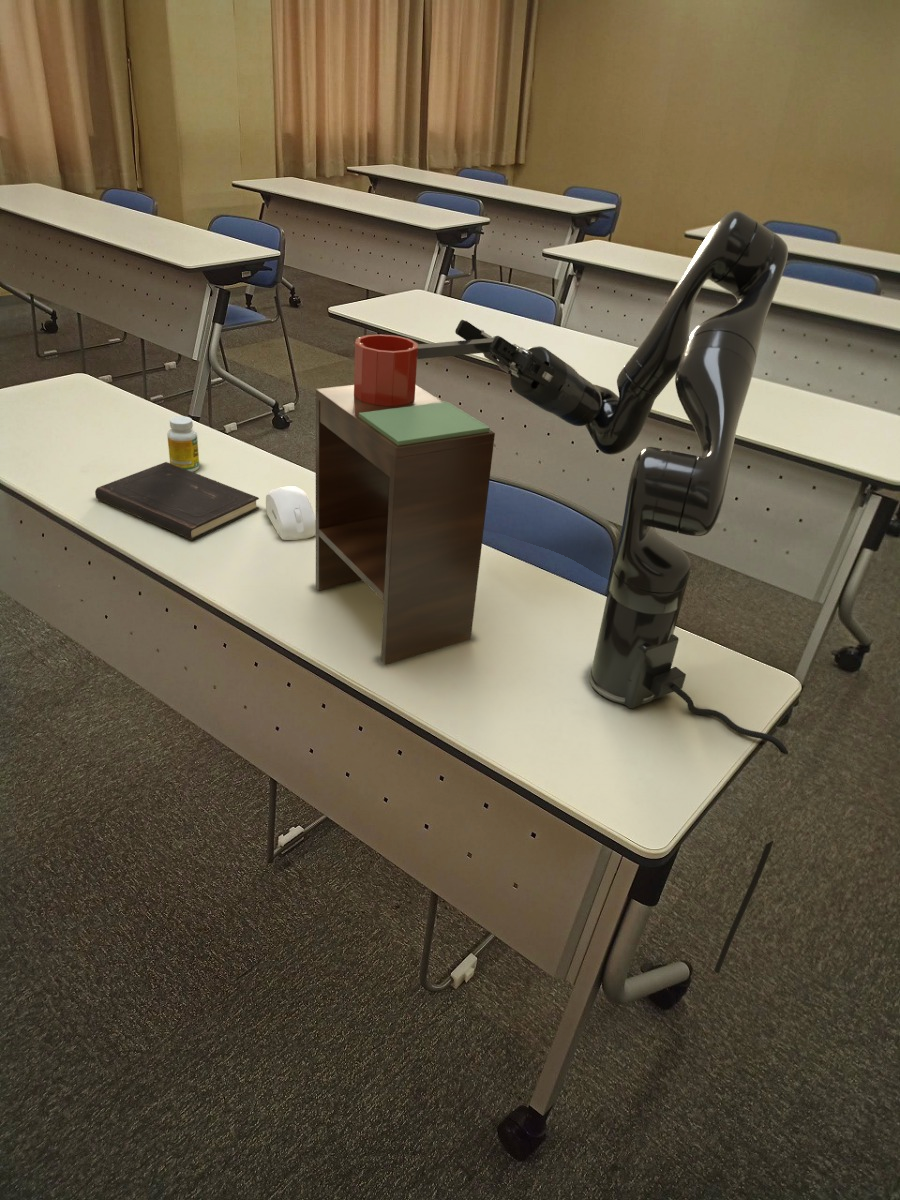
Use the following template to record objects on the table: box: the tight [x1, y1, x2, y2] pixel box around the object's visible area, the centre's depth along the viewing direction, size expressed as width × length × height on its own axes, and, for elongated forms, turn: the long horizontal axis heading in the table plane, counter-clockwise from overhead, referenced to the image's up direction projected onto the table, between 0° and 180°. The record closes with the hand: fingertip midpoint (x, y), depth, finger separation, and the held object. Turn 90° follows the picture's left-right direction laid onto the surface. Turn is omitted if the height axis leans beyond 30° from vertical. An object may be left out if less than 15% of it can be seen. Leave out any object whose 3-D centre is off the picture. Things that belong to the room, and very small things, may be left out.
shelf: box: [315, 384, 496, 665], centre depth 117 cm, size 22×14×31 cm, turn 32°
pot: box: [353, 333, 494, 406], centre depth 114 cm, size 8×22×7 cm, turn 122°
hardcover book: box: [94, 461, 260, 541], centre depth 148 cm, size 16×23×2 cm
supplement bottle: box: [166, 415, 200, 472], centre depth 159 cm, size 5×5×10 cm
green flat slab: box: [359, 401, 491, 446], centre depth 105 cm, size 10×13×1 cm
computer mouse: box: [265, 485, 316, 541], centre depth 144 cm, size 6×13×6 cm, turn 24°
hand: (476, 334), depth 116 cm, fingers open, 8 cm apart
